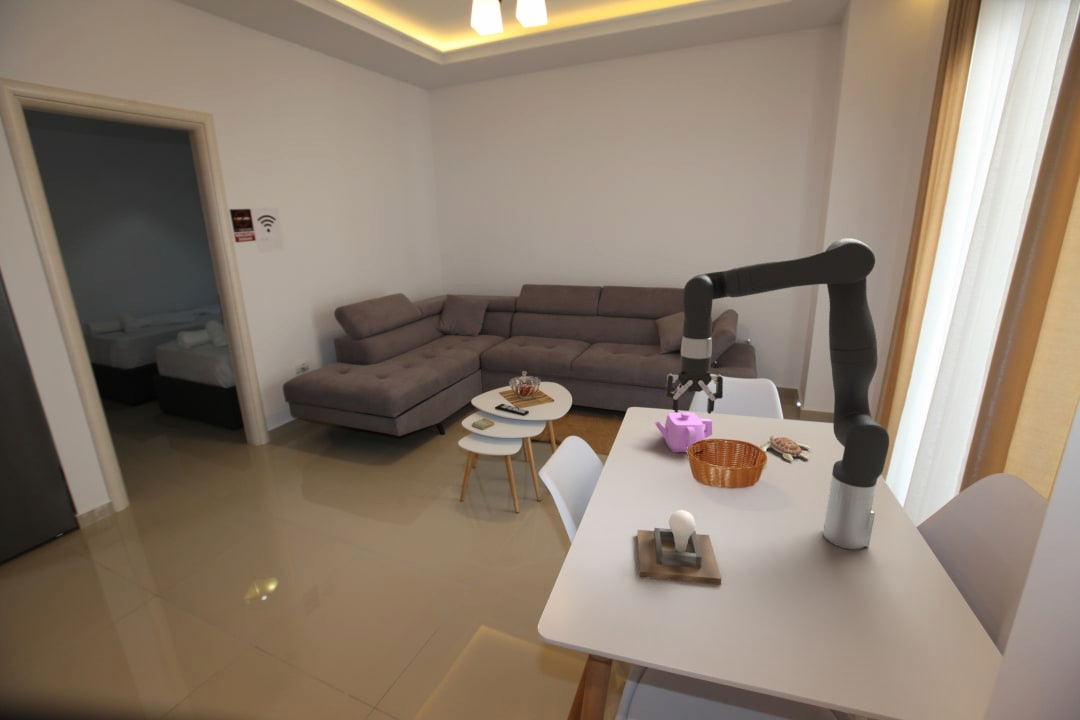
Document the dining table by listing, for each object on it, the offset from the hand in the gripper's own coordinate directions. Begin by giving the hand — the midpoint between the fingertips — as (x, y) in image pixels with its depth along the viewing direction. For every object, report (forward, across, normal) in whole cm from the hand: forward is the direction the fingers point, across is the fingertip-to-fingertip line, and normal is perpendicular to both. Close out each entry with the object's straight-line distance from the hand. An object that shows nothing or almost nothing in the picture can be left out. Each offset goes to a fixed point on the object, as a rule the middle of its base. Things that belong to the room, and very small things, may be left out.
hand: (692, 411), depth 129 cm
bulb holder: (+30, -5, -21) cm, 37 cm away
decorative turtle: (+31, +39, +42) cm, 65 cm away
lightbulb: (+29, -4, -21) cm, 36 cm away
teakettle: (+30, +4, +44) cm, 53 cm away
